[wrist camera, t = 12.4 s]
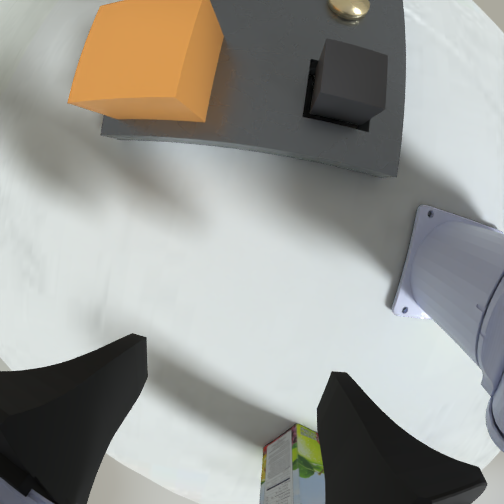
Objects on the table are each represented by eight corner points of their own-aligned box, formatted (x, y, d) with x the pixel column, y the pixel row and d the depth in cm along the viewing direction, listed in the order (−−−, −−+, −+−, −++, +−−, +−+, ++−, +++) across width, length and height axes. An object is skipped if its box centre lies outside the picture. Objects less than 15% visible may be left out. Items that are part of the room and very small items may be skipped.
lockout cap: (223, 36, 13) (205, -10, 8) (205, 122, 14) (175, 97, 10) (137, 39, 13) (100, 6, 8) (117, 119, 15) (67, 103, 10)
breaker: (364, 81, 14) (387, 55, 10) (360, 125, 14) (385, 109, 10) (315, 68, 14) (326, 38, 10) (309, 114, 14) (320, 92, 10)
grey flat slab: (390, -4, 13) (409, -33, 9) (381, 177, 17) (412, 176, 12) (170, -28, 14) (152, -57, 9) (119, 139, 17) (82, 131, 13)
